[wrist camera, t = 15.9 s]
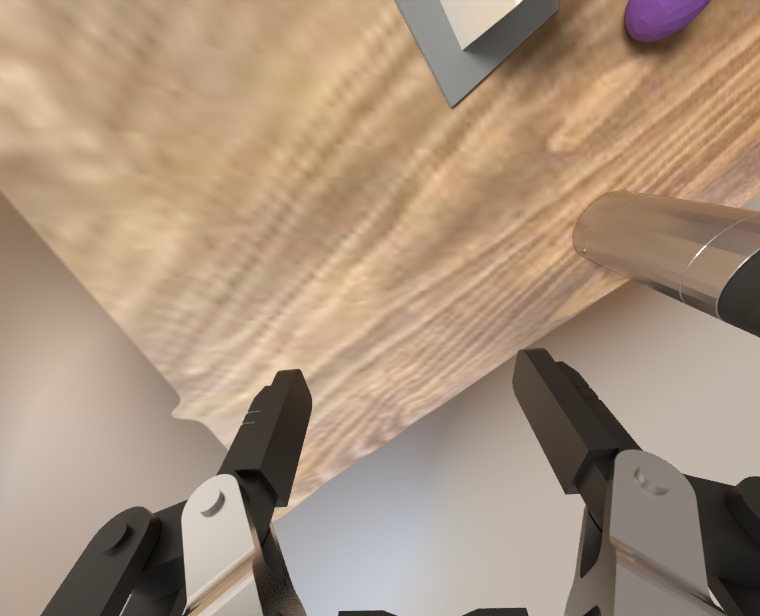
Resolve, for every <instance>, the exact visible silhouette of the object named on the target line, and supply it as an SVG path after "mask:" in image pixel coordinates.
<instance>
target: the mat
mask: <svg viewBox="0 0 760 616" xmlns="http://www.w3.org/2000/svg"><path fill="white" fill-rule="evenodd" d="M395 2H396V4H397V6H398V8H399V10H400V12H401V14H402V16H403V18H404V20H405V21H406V23H407V25H408V27H409V29H410V31H411V33H412V35H413V37H414V39H415V41H416V43H417V45H418V46H419V48H420V50H421V52H422V54H423V56H424V58H425V60H426V62H427V64H428V66H429V68H430V70H431V71H432V73H433V75H434V77H435V79H436V81H437V83H438V85H439V87H440V89H441V91H442V93H443V95H444V97H445V98H446V100H447V102H448V104H449V106H450V108H452V107H453V106H454V105H455V104H456V103H457V102H458V101H459V100H460V99H462V98H463V97H464V96H465V95H466V94H467V93H468V92H469V91H470V90H471V89H472V88H473V87H475V86H476V85H477V84H478V83H479V82H480V81H481V80H482V79H483V78H484V77H485V76H487V75H488V74H489V73H490V72H491V71H492V70H493V69H494V68H495V67H496V66H497V65H499V64H500V63H501V62H502V61H503V60H504V59H505V58H506V57H507V56H508V55H509V54H510V53H512V52H513V51H514V50H515V49H516V48H517V47H518V46H519V45H520V44H521V43H522V42H524V41H525V40H526V39H527V38H528V37H529V36H530V35H531V34H532V33H533V32H534V31H536V30H537V29H538V28H539V27H540V26H541V25H542V24H543V23H544V22H545V21H546V20H548V19H549V18H550V17H551V16H552V15H553V14H554V13H555V12H556V11H557V10H558V9H559V8H560V7H559V3H558V0H522V1H521V2H520V3H519V4H518V5H517V6H516V7H515V8H514V9H512V10H511V11H510V12H509V13H507V14H506V15H505V16H504V17H503V18H501V19H500V20H499V21H498V22H496V23H495V24H494V25H493V26H491V27H490V28H489V29H488V30H487V31H485V32H484V33H483V34H482V35H480V36H479V37H478V38H477V39H476V40H474V41H473V42H472V43H471V44H469V45H468V46H467V47H466V48H465V49H463V50H462V49H461V47H460V45H459V42H458V40H457V38H456V36H455V33H454V31H453V29H452V27H451V24H450V22H449V20H448V18H447V15H446V13H445V11H444V9H443V6H442V4H441V2H440V0H395Z"/></svg>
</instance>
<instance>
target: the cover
mask: <svg viewBox="0 0 760 616" xmlns="http://www.w3.org/2000/svg"><path fill="white" fill-rule="evenodd" d="M521 1H522V0H440V2H441V4H442V6H443V9H444V11H445V13H446V15H447V18H448V20H449V22H450V24H451V27H452V29H453V31H454V33H455V36H456V38H457V40H458V42H459V45H460V47H461V49H462V50H463V49H465V48H466V47H467V46H468V45H469V44H471V43H472V42H473V41H474V40H476V39H477V38H478V37H479V36H480V35H482V34H483V33H484V32H485V31H487V30H488V29H489V28H490V27H491V26H493V25H494V24H495V23H496V22H498V21H499V20H500V19H501V18H503V17H504V16H505V15H506V14H507V13H509V12H510V11H511V10H512V9H514V8H515V7H516V6H517V5H518V4H519V3H520V2H521Z"/></svg>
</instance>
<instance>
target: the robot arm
mask: <svg viewBox="0 0 760 616" xmlns="http://www.w3.org/2000/svg"><path fill="white" fill-rule="evenodd" d="M573 245H574V249H575V250H576V252H577V253H578V254H579V255H580V256H582V257H584V258H586V259H589V260H591V261H593V262H595V263H597V264H600V265H602V266H604V267H606V268H608V269H610V270H612V271H615V272H617V273H619V274H621V275H623V276H625V277H628V278H630V279H632V280H634V281H636V282H639V283H641V284H643V285H645V286H648V287H650V288H652V289H654V290H657V291H659V292H660V293H663V294H665V295H667V296H669V297H671V298H674V299H676V300H678V301H680V302H683V303H685V304H687V305H689V306H692V307H694V308H696V309H698V310H700V311H702V312H705V313H707V314H709V315H711V316H713V317H716V318H718V319H720V320H722V321H724V322H727V323H729V324H731V325H733V326H735V327H738V328H740V329H742V330H745V331H747V332H749V333H751V334H753V335H756V336H758V337H760V212H758V211H752V210H746V209H739V208H733V207H727V206H722V205H715V204H709V203H702V202H696V201H689V200H683V199H676V198H670V197H663V196H656V195H650V194H643V193H636V192H629V191H614V192H611V193H608V194H606V195H604V196H602V197H600V198H599V199H598V200H596V201H595V202H593V203H592V204H591V205H590V206H589V207H588V208H587V209H586V211H585V212H584V213H583V214H582V216H581V217H580V219H579V221H578V222H577V225H576V227H575V230H574V234H573ZM513 389H514V393H515V396H516V397H517V400H518V402H519V404H520V406H521V408H522V410H523V411H524V413H525V415H526V417H527V419H528V421H529V423H530V425H531V427H532V429H533V431H534V433H535V435H536V437H537V439H538V441H539V443H540V445H541V447H542V449H543V451H544V453H545V455H546V457H547V459H548V461H549V463H550V465H551V467H552V469H553V471H554V473H555V475H556V477H557V479H558V480H559V482H560V484H561V486H562V488H563V490H564V492H565V494H580V495H581V496H582V498H583V500H584V502H585V504H586V506H585V508H584V514H583V521H582V528H581V535H580V542H579V549H578V556H577V564H576V571H575V577H574V581H573V585H572V588H571V591H570V593H569V597H568V600H567V604H566V609H565V614H564V616H760V477H757V476H754V477H748V478H745V479H744V480H742V481H741V482H740V483H739V484H738V485H736V486H732V485H727V484H723V483H719V482H715V481H710V480H706V479H702V478H697V477H693V476H689V475H686V474H682V473H680V471H678V470H677V469H676V468H675V467H674V466H672V465H671V464H670V463H668V462H667V461H665V460H663V459H661V458H660V457H658V456H656V455H653V454H651V453H648V452H645V451H643V450H642V449H641V448H640V447H639V446H638V445H637V444H636V442H635V441H634V440H633V439H632V437H631V436H630V435H629V434H628V433H627V432H626V430H625V429H624V428H623V426H622V425H621V424H620V423H619V422H618V421H617V419H616V418H615V417H614V415H613V414H612V413H611V412H610V411H609V409H608V408H607V407H606V406H605V404H604V403H603V402H602V401H601V400H599V399H598V396H597V395H596V393H595V392H594V391H593V390H592V389H591V388H589V385H588V384H587V382H586V381H585V380H584V379H583V378H582V376H581V375H580V374H579V373H578V372H577V371H576V370H574V369H573V368H571V367H570V366H568V365H567V364H565V363H564V362H555V361H554V360H553V358H552V357H551V356H550V354H549V353H548V352H547V350H545V349H544V348H536V349H523V350H519V351H518V354H517V359H516V364H515V369H514V375H513ZM311 411H312V397H311V394H310V391H309V389H308V386H307V384H306V381H305V379H304V376H303V374H302V372H301V370H300V369H293V370H282V371H278V372H277V374H276V376H275V378H274V380H273V383H272V385H271V386H265V387H264V388H263V389H262V390H261V391H260V392H259V394H258V395H257V396H256V397H255V398H254V400H253V402H252V404H251V406H250V408H249V410H248V414H246V416H245V418H244V420H243V422H242V423H243V425H241V427H240V429H239V431H238V433H237V435H236V437H235V439H234V441H233V443H232V445H231V447H230V449H229V451H228V454H227V455H226V458H225V460H224V462H223V464H222V466H221V468H220V470H219V471H218V473H217V475H216V476H215V477H212V478H210V479H208V480H207V481H205V482H204V483H203V484H202V485H200V486H199V487H198V488H197V489H196V490H195V492H194V493H193V494H192V495H191V497H190V498H189V499H188V500H186V501H183V502H181V503H178V504H176V505H173V506H171V507H168V508H166V509H163V510H161V511H158V512H156V513H154V514H153V513H151V512H150V511H149V510H147V509H145V508H144V507H132V508H130V509H127V510H125V511H123V512H121V513H119V514H118V515H116V516H115V517H114V518H112V519H111V520H110V521H109V522H107V523H106V524H105V525H104V526H103V527H102V528H101V529H100V530H99V531H98V532H97V534H96V535H95V536H94V537H93V539H92V540H91V541H90V543H89V544H88V546H87V547H86V549H85V550H84V552H83V553H82V555H81V556H80V558H79V559H78V561H77V562H76V563H75V565H74V566H73V568H72V569H71V571H70V572H69V574H68V575H67V577H66V578H65V580H64V581H63V583H62V584H61V586H60V587H59V589H58V590H57V592H56V593H55V595H54V596H53V598H52V599H51V601H50V602H49V604H48V605H47V606H46V608H45V609H44V611H43V613H42V614H41V616H119V615H120V613H121V611H122V609H123V607H124V605H125V603H126V601H127V599H128V597H129V595H130V594H132V596H131V597H130V599H129V602H128V603H127V605H126V607H125V609H124V611H123V613H122V615H121V616H182V613H183V611H184V608H185V606H186V603H187V609H186V612H185V614H184V615H183V616H307V615H306V612H305V610H304V608H303V605H302V603H301V601H300V599H299V598H298V595H297V594H296V592H295V590H294V587H293V585H292V582H291V579H290V576H289V573H288V570H287V567H286V564H285V561H284V558H283V555H282V552H281V549H280V545H279V543H278V540H277V536H276V533H275V530H274V527H273V524H272V522H271V519H272V515H273V512H274V508H275V507H287V505H288V501H289V497H290V493H291V489H292V485H293V482H294V478H295V474H296V470H297V466H298V462H299V458H300V454H301V450H302V446H303V442H304V439H305V435H306V431H307V427H308V423H309V419H310V415H311ZM708 587H709V589H710V590H711V592H712V593H713V595H714V596H715V598H716V599H717V600H718V602H719V604H720V605H721V607H722V608H723V610H724V611H725V612H724V611H723V610H722V609H721V608H720V607H718V606H716V605H715V604H714V603H713V601H712V600H711V597H710V595H709V591H708ZM338 616H396V615H394V614H391V613H388V612H386V611H383V610H382V611H380V610H379V611H339V614H338ZM463 616H528V613H527V609H526V608H489V609H488V608H487V609H476V610H474V611H472V612H469V613H467V614H465V615H463Z"/></svg>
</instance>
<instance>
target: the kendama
mask: <svg viewBox="0 0 760 616" xmlns="http://www.w3.org/2000/svg"><path fill="white" fill-rule="evenodd" d="M709 2H710V0H629V1H628V4H627V6H626V9H625V24H626V28H627V31H628V33H629V35H630V36H631V37H632V38H634V39H636V40H639V41H645V42H646V41H658V40H661V39H663V38H666V37H668V36H670V35H672V34H674V33H676V32H678V31H679V30H681V29H683V28H684V27H685V26H686V25H687V24H689V23H690V22H691V21H692V20H693V19H694V18H695V17H696V16H697V15H698V14H699V13H700V12H701V11H702V10H703V9H704V8H705V7H706V6H707V5H708V3H709Z"/></svg>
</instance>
